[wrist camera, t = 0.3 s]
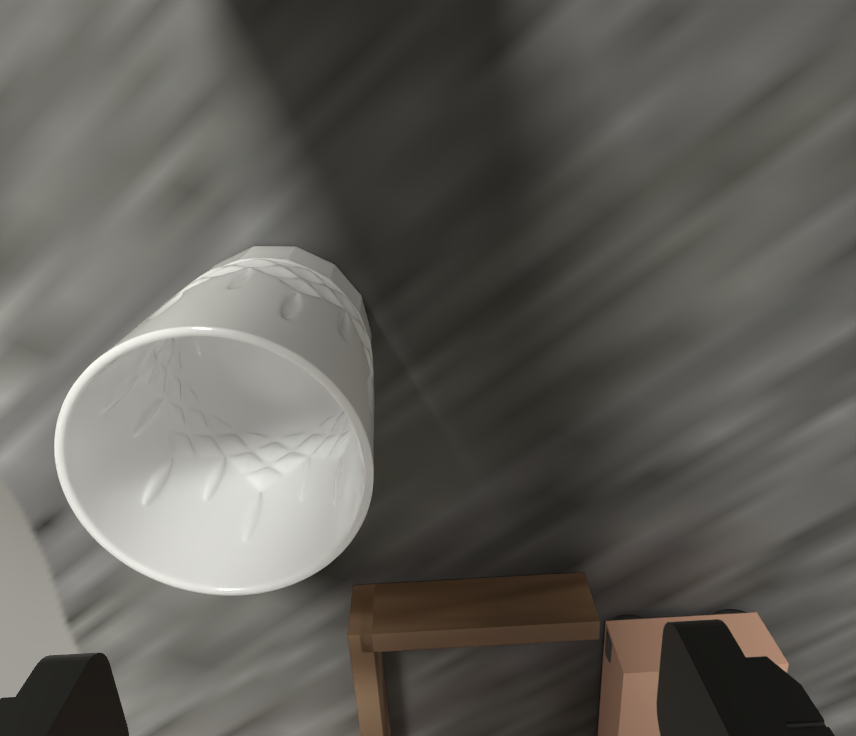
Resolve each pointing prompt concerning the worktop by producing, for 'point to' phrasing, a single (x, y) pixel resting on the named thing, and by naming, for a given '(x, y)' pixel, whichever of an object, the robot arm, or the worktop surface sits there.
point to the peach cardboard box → (658, 666)
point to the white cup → (229, 428)
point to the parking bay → (458, 624)
